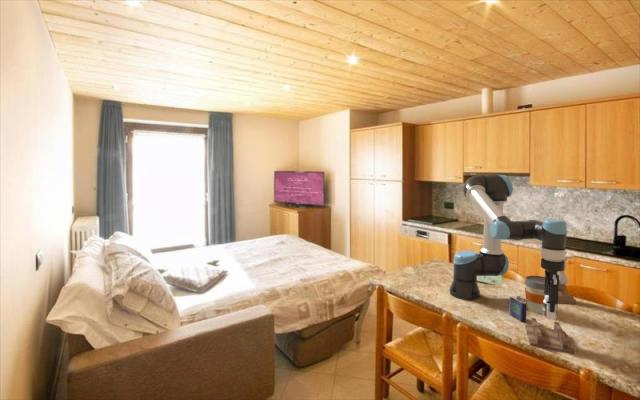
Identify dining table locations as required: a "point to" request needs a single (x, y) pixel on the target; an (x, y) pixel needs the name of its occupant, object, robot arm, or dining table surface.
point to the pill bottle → (546, 307)
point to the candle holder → (562, 293)
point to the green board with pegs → (490, 279)
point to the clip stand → (549, 337)
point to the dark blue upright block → (518, 308)
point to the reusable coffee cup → (535, 293)
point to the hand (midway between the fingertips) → (549, 316)
